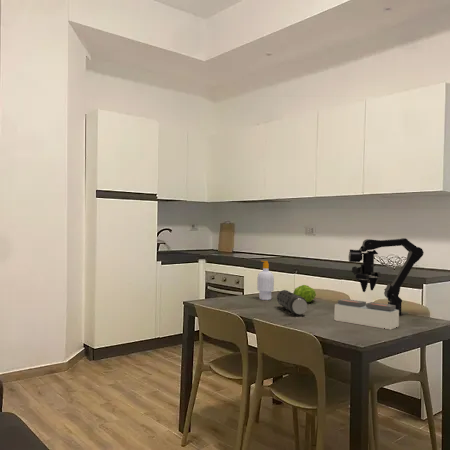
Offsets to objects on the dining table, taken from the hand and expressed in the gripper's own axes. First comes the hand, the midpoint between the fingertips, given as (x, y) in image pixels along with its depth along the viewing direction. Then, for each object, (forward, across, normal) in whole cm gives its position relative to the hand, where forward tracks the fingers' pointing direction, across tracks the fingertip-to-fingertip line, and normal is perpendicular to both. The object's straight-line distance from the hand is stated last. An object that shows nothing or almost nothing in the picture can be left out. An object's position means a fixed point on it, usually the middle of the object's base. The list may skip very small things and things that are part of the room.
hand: (367, 291), depth 259 cm
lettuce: (+12, -9, -46) cm, 48 cm away
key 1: (+4, +25, +4) cm, 26 cm away
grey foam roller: (+12, +27, -31) cm, 43 cm away
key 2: (+4, +25, +19) cm, 32 cm away
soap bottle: (+12, +3, -67) cm, 68 cm away
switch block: (+12, +25, +11) cm, 30 cm away
